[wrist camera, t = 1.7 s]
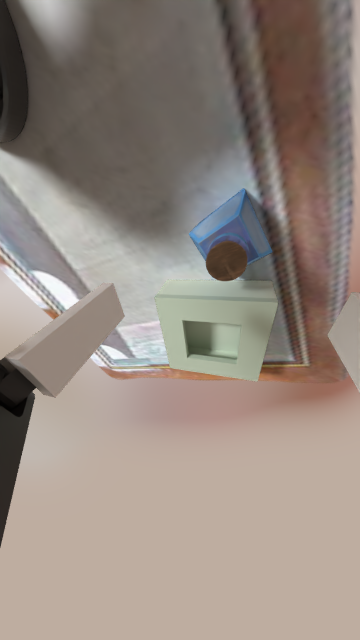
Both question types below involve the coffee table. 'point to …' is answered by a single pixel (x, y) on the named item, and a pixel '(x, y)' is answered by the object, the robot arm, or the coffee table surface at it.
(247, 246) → the perfume bottle
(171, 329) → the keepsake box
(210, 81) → the coffee table surface
